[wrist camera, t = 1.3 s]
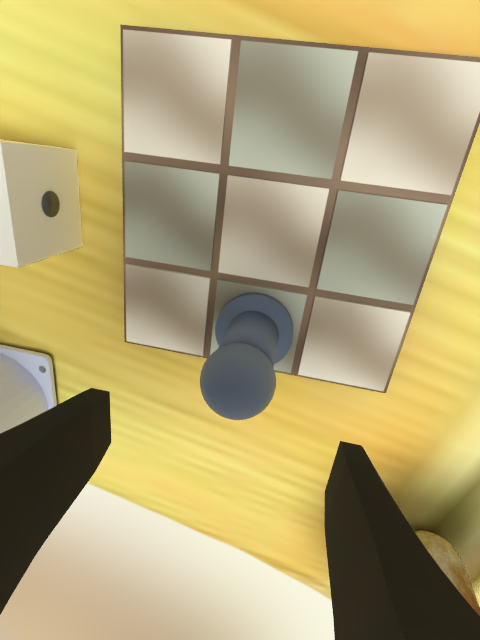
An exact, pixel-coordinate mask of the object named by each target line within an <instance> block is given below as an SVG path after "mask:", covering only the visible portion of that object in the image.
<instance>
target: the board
mask: <svg viewBox="0 0 480 640" xmlns="http://www.w3.org/2000/svg"><path fill="white" fill-rule="evenodd" d="M121 93H122V169H123V244H124V320H125V342H128V343H133V344H138V345H143V346H148V347H153V348H158V349H163V350H168V351H173V352H178V353H183V354H189V355H194V356H199V357H204V358H208V357H209V356H210V355H211V354H212V353H213V352H214V351H216V350H217V349H218V347H219V345H218V343H217V340H216V335H215V326H216V322H217V319H218V317H219V315H220V313H221V311H222V310H223V308H224V307H225V305H226V304H227V303H228V302H229V301H230V300H232V299H233V298H235V297H236V296H239V295H241V294H244V293H250V292H257V293H263V294H267V295H269V296H272V297H274V298H275V299H277V300H278V301H280V302H281V303H282V304H283V305H284V306H285V307H286V309H287V310H288V312H289V314H290V316H291V318H292V321H293V339H292V344H291V347H290V349H289V351H288V353H287V354H286V356H285V357H284V358H283V359H282V360H281V361H279V362H278V363H276V364H274V371H275V372H280V373H285V374H290V375H295V376H300V377H306V378H311V379H316V380H321V381H326V382H331V383H336V384H341V385H346V386H351V387H356V388H361V389H367V390H372V391H377V392H382V393H386V390H387V388H388V385H389V382H390V379H391V376H392V373H393V370H394V367H395V364H396V362H397V359H398V356H399V353H400V350H401V347H402V344H403V341H404V339H405V336H406V333H407V330H408V327H409V324H410V321H411V318H412V316H413V313H414V310H415V307H416V304H417V301H418V298H419V295H420V293H421V290H422V287H423V284H424V281H425V278H426V275H427V272H428V270H429V267H430V264H431V261H432V258H433V255H434V252H435V249H436V246H437V244H438V241H439V238H440V235H441V232H442V229H443V226H444V223H445V221H446V218H447V215H448V212H449V209H450V206H451V203H452V200H453V198H454V195H455V192H456V189H457V186H458V183H459V180H460V177H461V175H462V172H463V169H464V166H465V163H466V160H467V157H468V154H469V152H470V149H471V146H472V143H473V140H474V137H475V134H476V131H477V129H478V126H479V123H480V58H479V57H468V56H457V55H446V54H435V53H424V52H413V51H402V50H391V49H380V48H369V47H358V46H347V45H336V44H326V43H315V42H304V41H293V40H282V39H271V38H260V37H249V36H238V35H227V34H216V33H205V32H194V31H183V30H172V29H161V28H150V27H139V26H128V25H121Z"/></svg>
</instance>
